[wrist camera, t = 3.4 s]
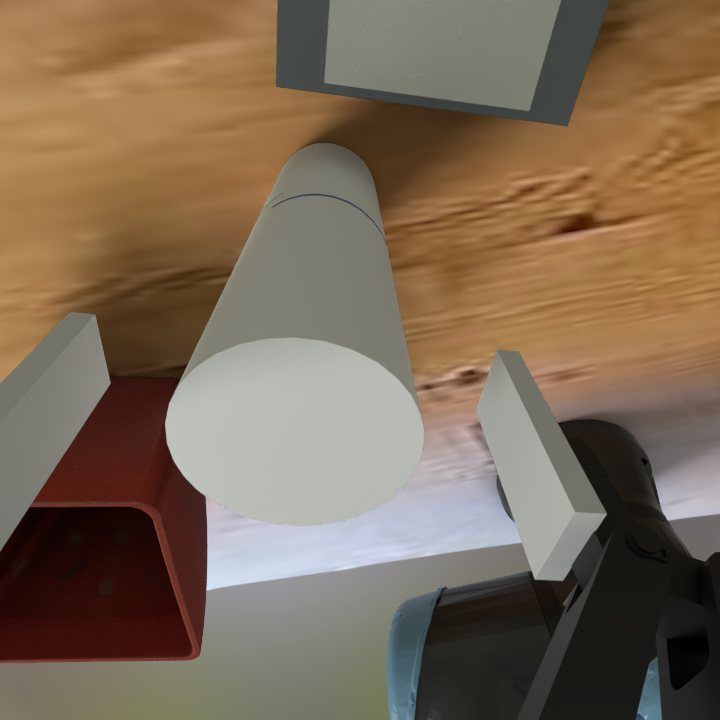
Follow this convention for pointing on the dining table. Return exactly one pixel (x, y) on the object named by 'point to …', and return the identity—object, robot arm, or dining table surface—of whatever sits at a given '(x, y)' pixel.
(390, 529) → the dining table surface
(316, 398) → the cylindrical container
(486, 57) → the grey rectangular block
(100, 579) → the plant pot
